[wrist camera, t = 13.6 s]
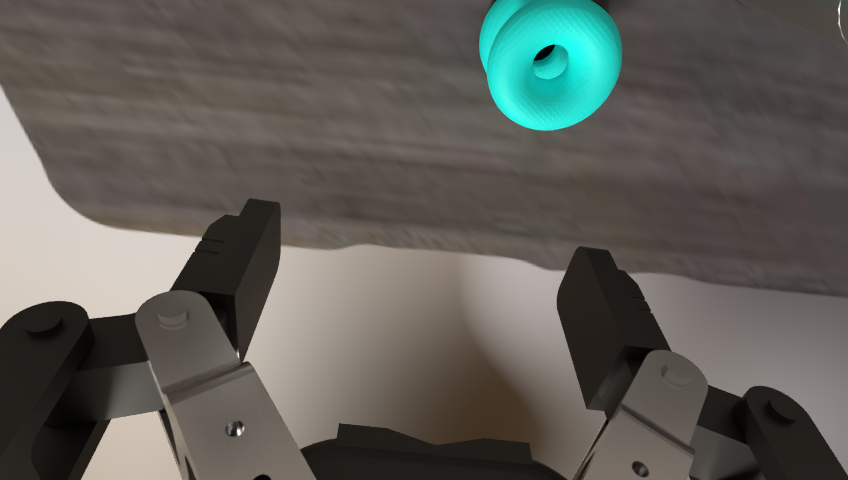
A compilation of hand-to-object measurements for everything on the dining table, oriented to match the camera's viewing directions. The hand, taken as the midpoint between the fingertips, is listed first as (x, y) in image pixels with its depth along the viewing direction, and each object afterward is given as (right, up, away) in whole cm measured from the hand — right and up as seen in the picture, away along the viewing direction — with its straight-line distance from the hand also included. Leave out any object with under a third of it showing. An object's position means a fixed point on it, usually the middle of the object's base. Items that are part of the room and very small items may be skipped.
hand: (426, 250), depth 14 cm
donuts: (+10, +19, +31) cm, 38 cm away
